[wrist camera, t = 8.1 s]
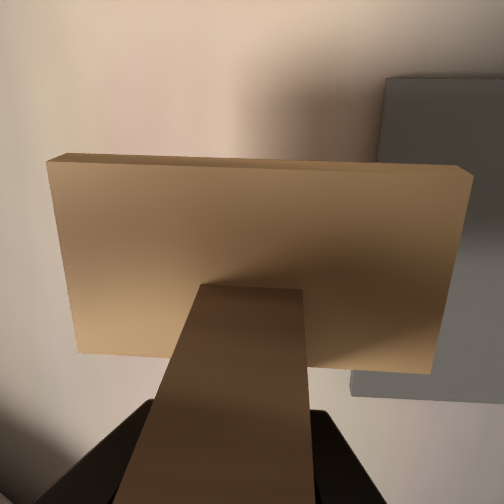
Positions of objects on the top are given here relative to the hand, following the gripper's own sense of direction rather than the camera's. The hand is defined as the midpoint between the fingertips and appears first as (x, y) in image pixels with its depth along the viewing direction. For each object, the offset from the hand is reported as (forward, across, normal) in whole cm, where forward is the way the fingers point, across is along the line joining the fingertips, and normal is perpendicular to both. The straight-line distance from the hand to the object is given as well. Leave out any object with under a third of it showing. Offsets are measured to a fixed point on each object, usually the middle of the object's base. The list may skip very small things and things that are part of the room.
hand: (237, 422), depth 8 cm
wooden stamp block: (+4, 0, -1) cm, 4 cm away
